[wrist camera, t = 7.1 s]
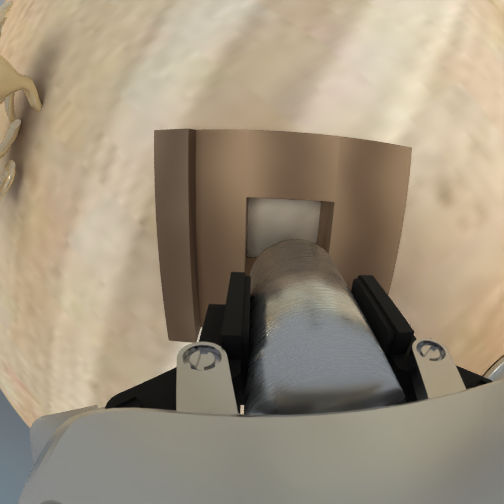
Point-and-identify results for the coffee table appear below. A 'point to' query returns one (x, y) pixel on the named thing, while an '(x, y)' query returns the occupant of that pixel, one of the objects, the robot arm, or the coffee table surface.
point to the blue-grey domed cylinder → (310, 339)
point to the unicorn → (12, 103)
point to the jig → (268, 186)
